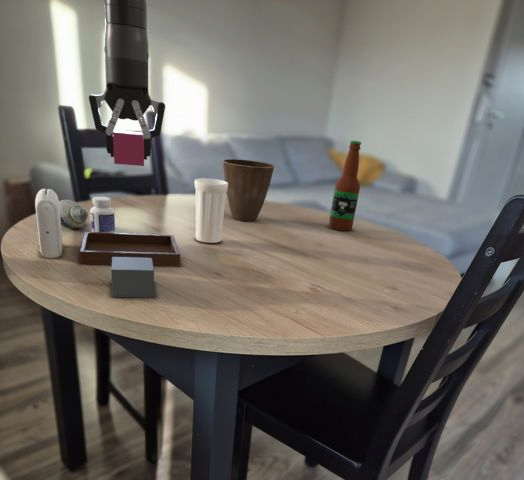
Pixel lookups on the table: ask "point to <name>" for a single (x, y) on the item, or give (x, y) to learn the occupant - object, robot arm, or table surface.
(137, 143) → the pink block
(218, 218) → the cup
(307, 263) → the table surface
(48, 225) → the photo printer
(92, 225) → the pill bottle
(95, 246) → the tray
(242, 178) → the flower pot
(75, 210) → the seashell
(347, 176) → the bottle
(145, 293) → the grey block
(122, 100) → the robot arm
